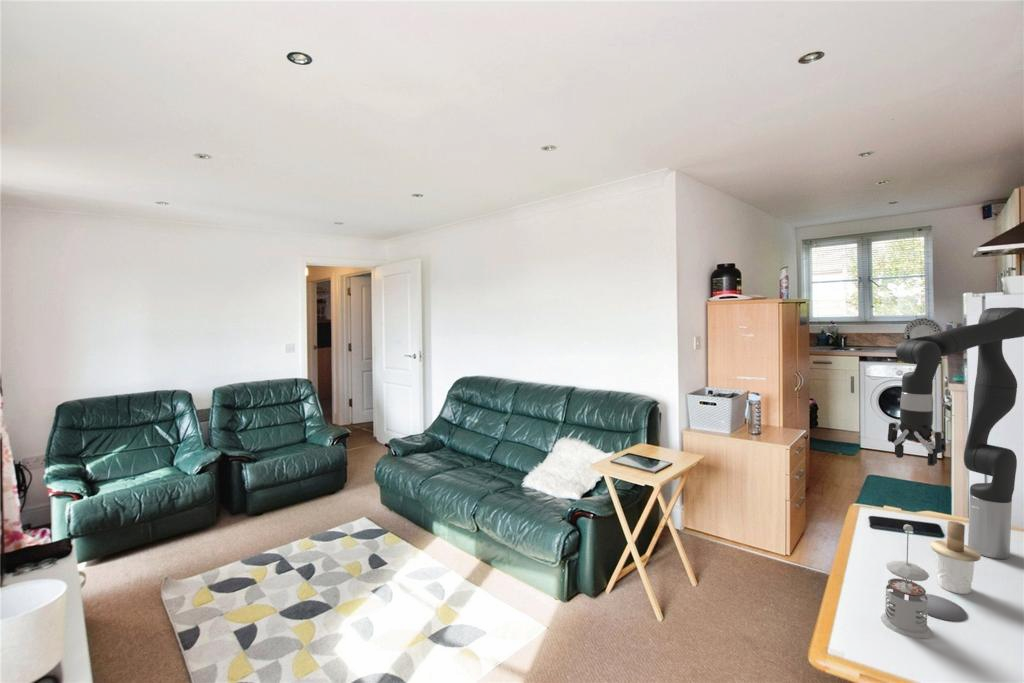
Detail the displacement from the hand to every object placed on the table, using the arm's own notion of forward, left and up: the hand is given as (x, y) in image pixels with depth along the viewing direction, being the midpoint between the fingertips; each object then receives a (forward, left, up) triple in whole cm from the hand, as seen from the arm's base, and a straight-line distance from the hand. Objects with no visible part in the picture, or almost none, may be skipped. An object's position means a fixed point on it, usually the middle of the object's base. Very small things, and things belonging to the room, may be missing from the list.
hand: (914, 461), depth 147 cm
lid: (+6, +14, -20) cm, 25 cm away
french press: (+34, +19, -30) cm, 49 cm away
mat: (+20, +18, -30) cm, 40 cm away
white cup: (+6, +14, -30) cm, 34 cm away
